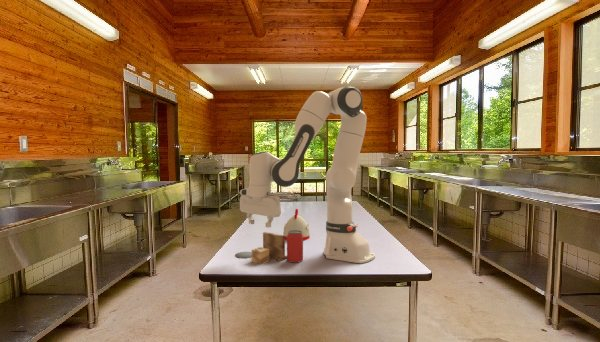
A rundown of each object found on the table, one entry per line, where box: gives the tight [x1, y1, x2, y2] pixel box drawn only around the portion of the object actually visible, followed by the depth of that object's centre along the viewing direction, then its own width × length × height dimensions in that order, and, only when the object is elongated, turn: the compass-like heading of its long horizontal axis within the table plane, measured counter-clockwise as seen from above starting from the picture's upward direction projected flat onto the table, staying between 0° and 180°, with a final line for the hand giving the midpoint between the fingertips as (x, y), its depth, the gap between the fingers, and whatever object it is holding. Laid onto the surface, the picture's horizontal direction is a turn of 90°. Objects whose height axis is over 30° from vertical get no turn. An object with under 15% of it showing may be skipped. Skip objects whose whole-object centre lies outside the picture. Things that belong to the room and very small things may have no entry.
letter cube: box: [251, 246, 270, 265], centre depth 138 cm, size 5×5×5 cm
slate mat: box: [234, 251, 252, 259], centre depth 147 cm, size 9×9×1 cm
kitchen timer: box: [282, 208, 311, 241], centre depth 177 cm, size 14×14×15 cm
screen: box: [262, 231, 287, 262], centre depth 143 cm, size 11×5×10 cm, turn 52°
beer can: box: [286, 230, 304, 264], centre depth 139 cm, size 7×7×12 cm
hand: (259, 225), depth 138 cm, fingers open, 8 cm apart
